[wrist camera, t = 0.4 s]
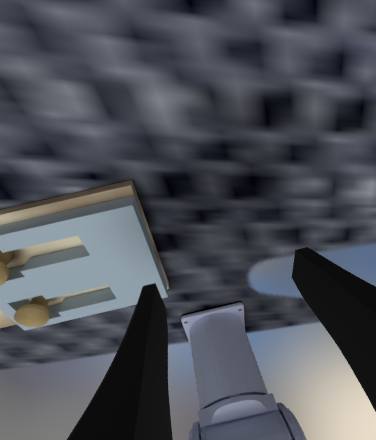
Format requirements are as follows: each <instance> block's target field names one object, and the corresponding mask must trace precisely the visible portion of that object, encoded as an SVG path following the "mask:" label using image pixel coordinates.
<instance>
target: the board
mask: <svg viewBox="0 0 376 440" xmlns="http://www.w3.org/2000/svg"><path fill="white" fill-rule="evenodd" d="M129 196H135V199H136V202H137V204H138V207H139V210H140V213H141V215H142V218H143V221H144V223H145V226H146V229H147V232H148V234H149V237H150V240H151V243H152V245H153V248H154V251H155V253H156V256H157V259H158V262H159V264H160V267H161V270H162V272H163V275H164V278H165V281H166V283H167V289H169V286H168V279H167V277H166V274H165V271H164V268H163V265H162V263H161V260H160V257H159V254H158V251H157V249H156V246H155V243H154V240H153V237H152V235H151V232H150V229H149V226H148V223H147V221H146V218H145V215H144V212H143V209H142V207H141V204H140V201H139V198H138V196H137V193H136V190H135V187H134V184H133V182H132V180H129V181H125V182H121V183H116V184H112V185H107V186H103V187H99V188H94V189H90V190H85V191H81V192H77V193H72V194H68V195H63V196H59V197H54V198H50V199H46V200H41V201H37V202H32V203H28V204H24V205H19V206H15V207H10V208H6V209H2V210H0V226H2V225H7V224H11V223H15V222H20V221H24V220H29V219H33V218H37V217H42V216H46V215H50V214H55V213H59V212H64V211H68V210H72V209H77V208H81V207H86V206H90V205H94V204H99V203H103V202H108V201H112V200H116V199H121V198H125V197H129ZM80 246H84V245H83V243H82V241H81V240H80V238H79V237H78V236H74V237H69V238H65V239H61V240H56V241H52V242H48V243H43V244H39V245H35V246H30V247H26V248H22V249H17V250H13V251H8V252H4V253H2V251H1V250H0V286H1V285H3V284H4V283H5V282H6V280H7V279H8V278H9V276H10V270H9V269H11V268H15V267H19V266H24V265H25V264H26V262H27V261H28V260H29V258H32V257H37V256H41V255H45V254H50V253H54V252H58V251H63V250H67V249H71V248H76V247H80ZM108 288H110V287H109V286H108V285H106V286H102V287H98V288H93V289H89V290H85V291H81V292H76V293H72V294H68V295H63V296H59V297H55V298H51V299H45V298H44V297H43V296H42V295H41V296H37V297H33V298H28V299H27V300H28V301H29V302H30V304H25V305H22V306H20V307H19V308H18V309H17V311H16V313H15V314H14V320H15V321H16V322H17V323H19V324H21V325H23V326H27V327H40V326H43V325H45V324H46V323H47V322H48V320H49V318H50V316H51V313H50V311H49V310H48V309H47V308H46V307H49V306H53V305H58V304H62V302H63V300H64V299H65V298H69V297H73V296H78V295H82V294H86V293H90V292H95V291H99V290H103V289H108ZM11 325H16V323H15V322H14V321H13V320H12V319H10V318H9V317H8V316H7V315H6V314H4V313H3V312H2V311H1V310H0V328H3V327H7V326H11Z"/></svg>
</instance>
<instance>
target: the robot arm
mask: <svg viewBox="0 0 376 440" xmlns="http://www.w3.org/2000/svg"><path fill="white" fill-rule="evenodd" d="M292 278H293V280H294V282H295V284H296V286H297V288H298V290H299V291H300V293H301V295H302V296H303V298H304V299H305V301H306V302H307V304H308V305H309V306H310V308H311V309H312V311H313V312H314V313H315V315H316V316H317V317H318V319H319V320H320V322H321V323H322V324H323V326H324V327H325V328H326V330H327V331H328V333H329V334H330V335H331V337H332V338H333V340H334V341H335V343H336V344H337V346H338V347H339V348H340V350H341V352H342V353H343V355H344V357H345V358H346V360H347V361H348V364H349V365H350V367H351V368H352V370H353V372H354V373H355V375H356V377H357V379H358V381H359V382H360V384H361V386H362V388H363V389H364V391H365V393H366V395H367V396H368V398H369V400H370V402H371V404H372V406H373V408H374V409H375V411H376V287H375V286H373V285H371V284H370V283H368V282H366V281H364V280H362V279H360V278H359V277H356V276H355V275H353V274H351V273H350V272H348V271H346V270H344V269H343V268H341V267H339V266H338V265H336V264H334V263H333V262H331V261H329V260H328V259H326V258H324V257H323V256H321V255H319V254H318V253H316V252H314V251H313V250H311V249H309V248H308V247H306V248H302V249H298V250H295V257H294V265H293V273H292ZM181 321H182V324H183V327H184V329H185V332H186V335H187V338H188V341H189V343H190V346H191V349H192V356H193V363H194V370H195V377H196V384H197V392H198V399H199V405H200V410H199V411H198V415H199V422H200V423H199V422H194V423H193V425H192V428H191V430H190V432H189V440H306V437H305V435H304V433H303V431H302V429H301V427H300V425H299V423H298V421H297V419H296V418H295V416H294V415H293V413H292V412H291V411H290V410H289V409H288V408H286V407H285V406H284V405H283V404H282V403H276V401H275V399H274V396H273V394H268V392H267V389H266V386H265V384H264V381H263V378H262V376H261V373H260V370H259V368H258V365H257V362H256V359H255V357H254V354H253V351H252V348H251V346H250V343H249V340H248V337H247V335H246V332H245V322H244V306H243V303H235V304H231V305H227V306H222V307H218V308H214V309H210V310H205V311H201V312H197V313H193V314H188V315H184V316H182V317H181ZM67 440H172V429H171V418H170V406H169V394H168V327H167V317H166V308H165V305H164V303H163V300H162V298H161V295H160V293H159V290H158V288H157V286H156V283H153V284H149V285H145V286H143V287H142V290H141V293H140V296H139V299H138V302H137V305H136V308H135V310H134V313H133V316H132V318H131V321H130V323H129V326H128V328H127V331H126V333H125V336H124V338H123V340H122V342H121V344H120V347H119V349H118V351H117V353H116V355H115V358H114V360H113V362H112V364H111V366H110V367H109V369H108V371H107V373H106V375H105V377H104V379H103V381H102V383H101V384H100V386H99V388H98V390H97V391H96V393H95V395H94V397H93V399H92V400H91V402H90V404H89V405H88V407H87V409H86V410H85V412H84V414H83V415H82V417H81V418H80V420H79V421H78V423H77V425H76V426H75V428H74V429H73V431H72V432H71V434H70V435H69V437H68V439H67Z"/></svg>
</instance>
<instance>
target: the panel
mask: <svg viewBox="0 0 376 440" xmlns="http://www.w3.org/2000/svg"><path fill="white" fill-rule="evenodd" d="M74 236H78V237H79V238H80V240H81V241H82V243H83V245H84V246H80V247H76V248H71V249H67V250H63V251H58V252H54V253H50V254H45V255H41V256H37V257H32V258H29V260H28V261H27V262H26V264H25V265H24V266H19V267H15V268H11V269H9V270H10V276H9V278H8V279H7V280H6V282H5V283H4V284H3V285H1V286H0V310H1V311H2V312H3V313H4V314H6V315H7V316H8V317H9V318H10V319H12V320H13V321H14V322H15V323H16V324H17V325H19V326H20V327H21V328H22V329H23V330H29V329H33V328H37V327H27V326H23V325H21V324H19V323H17V322H16V321H15V320H14V314H15V313H16V311H17V309H18V308H19V307H20V306H22V305H25V304H30V302H29V301H28V300H27V299H28V298H33V297H37V296H41V295H42V296H43V297H44V298H45V299H51V298H55V297H59V296H63V295H68V294H72V293H76V292H81V291H85V290H89V289H93V288H98V287H102V286H106V285H108V286H109V287H110V288H108V289H103V290H99V291H95V292H90V293H86V294H82V295H78V296H73V297H69V298H65V299H64V300H63V302H62V304H58V305H53V306H49V307H46V308H47V309H48V310H49V311H50V313H51V316H50V318H49V320H48V322H47V323H46V324H45V325H43V326H46V325H50V324H55V323H59V322H63V321H67V320H72V319H76V318H80V317H84V316H89V315H93V314H97V313H101V312H106V311H110V310H114V309H119V308H123V307H127V306H131V305H136V304H137V302H138V299H139V296H140V293H141V290H142V287H143V286H145V285H149V284H153V283H156V286H157V288H158V290H159V293H160V295H161V298H165V297H168V293H167V283H166V281H165V278H164V275H163V272H162V270H161V267H160V264H159V262H158V259H157V256H156V253H155V251H154V248H153V245H152V243H151V240H150V237H149V234H148V232H147V229H146V226H145V223H144V221H143V218H142V215H141V213H140V210H139V207H138V204H137V202H136V199H135V196H129V197H125V198H121V199H116V200H112V201H108V202H103V203H99V204H94V205H90V206H86V207H81V208H77V209H72V210H68V211H64V212H59V213H55V214H50V215H46V216H42V217H37V218H33V219H29V220H24V221H20V222H15V223H11V224H7V225H2V226H0V250H1V251H2V253H4V252H8V251H13V250H17V249H22V248H26V247H30V246H35V245H39V244H43V243H48V242H52V241H56V240H61V239H65V238H69V237H74ZM40 327H42V326H40Z"/></svg>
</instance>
